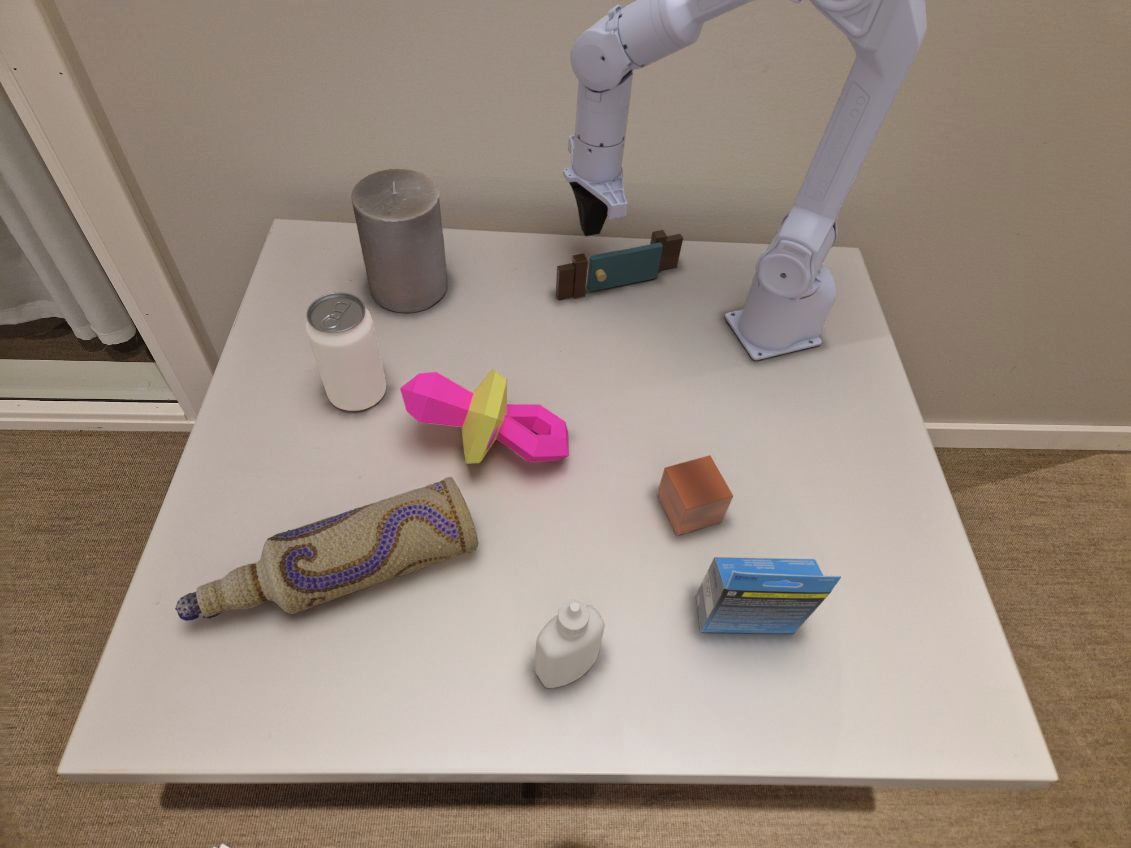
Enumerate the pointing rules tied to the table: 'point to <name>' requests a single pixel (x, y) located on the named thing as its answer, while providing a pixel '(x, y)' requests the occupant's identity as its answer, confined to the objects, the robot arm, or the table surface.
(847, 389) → the table surface
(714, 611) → the label tape box
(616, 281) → the gate door
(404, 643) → the table surface
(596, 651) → the eye dropper bottle
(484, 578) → the table surface
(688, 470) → the block
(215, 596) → the decorative bottle
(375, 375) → the can
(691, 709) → the table surface
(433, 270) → the pillar candle
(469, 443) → the toy
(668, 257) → the gate
